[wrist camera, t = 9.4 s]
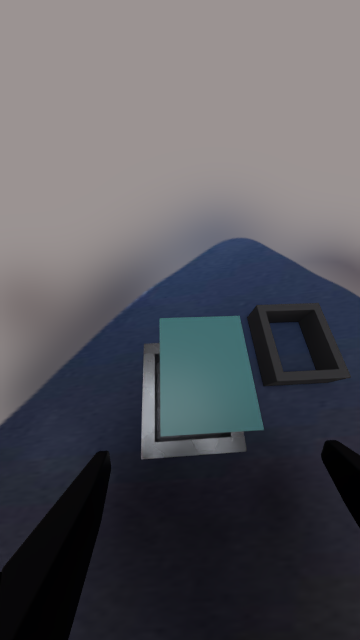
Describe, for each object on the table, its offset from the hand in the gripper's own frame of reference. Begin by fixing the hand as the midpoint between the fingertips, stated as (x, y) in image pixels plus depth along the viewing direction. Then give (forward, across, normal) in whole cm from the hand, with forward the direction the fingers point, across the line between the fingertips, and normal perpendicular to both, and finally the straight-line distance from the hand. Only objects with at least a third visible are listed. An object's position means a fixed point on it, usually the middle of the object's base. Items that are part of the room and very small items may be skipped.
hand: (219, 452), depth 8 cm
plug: (+10, 0, +5) cm, 11 cm away
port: (+10, 0, +6) cm, 12 cm away
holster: (+14, -11, +2) cm, 18 cm away
